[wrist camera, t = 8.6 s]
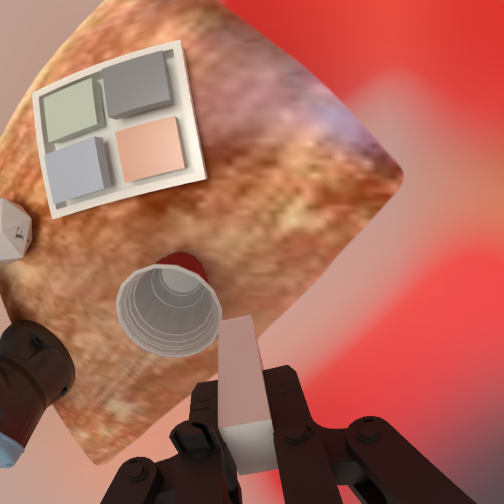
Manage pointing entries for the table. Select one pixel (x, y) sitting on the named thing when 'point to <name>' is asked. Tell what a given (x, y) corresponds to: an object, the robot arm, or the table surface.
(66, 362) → the robot arm
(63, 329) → the table surface
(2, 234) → the die
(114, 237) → the table surface
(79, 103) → the key sage
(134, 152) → the key terracotta
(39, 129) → the keypad
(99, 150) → the key slate
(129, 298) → the plastic cup
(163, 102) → the key charcoal
